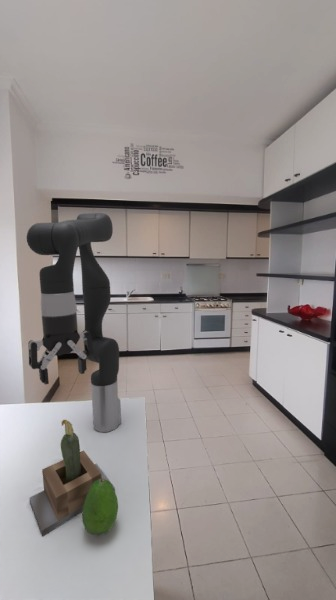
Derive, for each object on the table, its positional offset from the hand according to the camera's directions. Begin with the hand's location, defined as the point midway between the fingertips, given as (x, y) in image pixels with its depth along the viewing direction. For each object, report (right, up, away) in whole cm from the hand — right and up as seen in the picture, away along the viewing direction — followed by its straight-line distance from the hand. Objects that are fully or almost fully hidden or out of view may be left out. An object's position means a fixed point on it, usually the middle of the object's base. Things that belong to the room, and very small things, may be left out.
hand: (64, 377), depth 66 cm
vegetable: (+1, -31, +5) cm, 31 cm away
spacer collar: (+1, -32, +5) cm, 32 cm away
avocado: (+10, -33, -3) cm, 35 cm away
